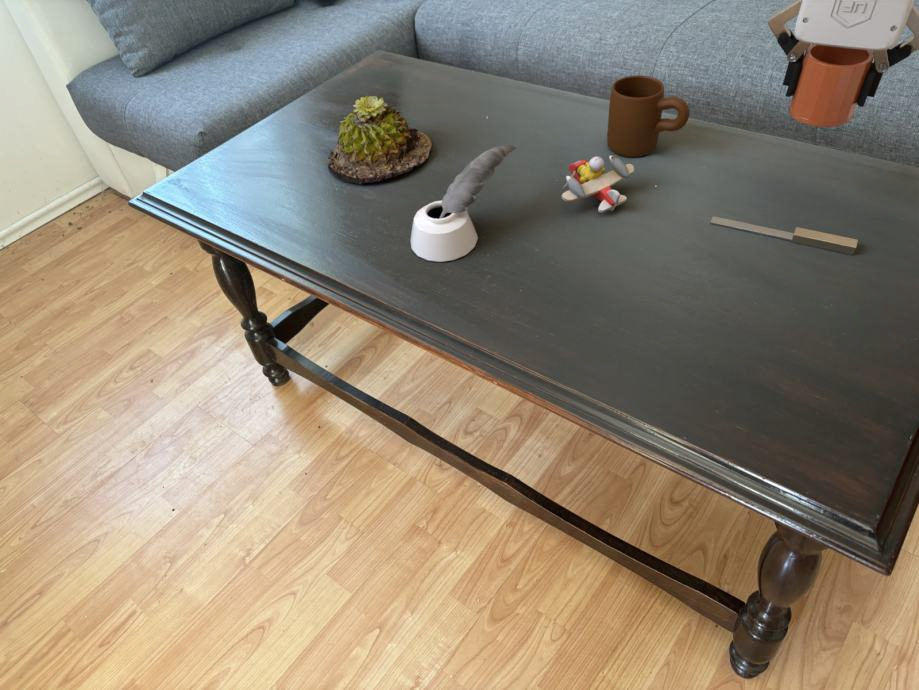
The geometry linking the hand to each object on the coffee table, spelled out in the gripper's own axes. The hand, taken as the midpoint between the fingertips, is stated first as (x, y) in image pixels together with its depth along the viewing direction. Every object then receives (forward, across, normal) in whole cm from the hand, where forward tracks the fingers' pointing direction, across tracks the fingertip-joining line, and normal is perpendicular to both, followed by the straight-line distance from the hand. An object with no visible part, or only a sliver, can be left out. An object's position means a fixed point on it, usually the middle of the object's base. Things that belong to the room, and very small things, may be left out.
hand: (825, 95), depth 76 cm
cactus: (+16, -60, -9) cm, 63 cm away
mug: (+16, -22, +7) cm, 28 cm away
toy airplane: (+16, -24, -8) cm, 30 cm away
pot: (+2, 0, 0) cm, 2 cm away
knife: (+15, 0, -7) cm, 17 cm away
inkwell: (+16, -38, -20) cm, 46 cm away
